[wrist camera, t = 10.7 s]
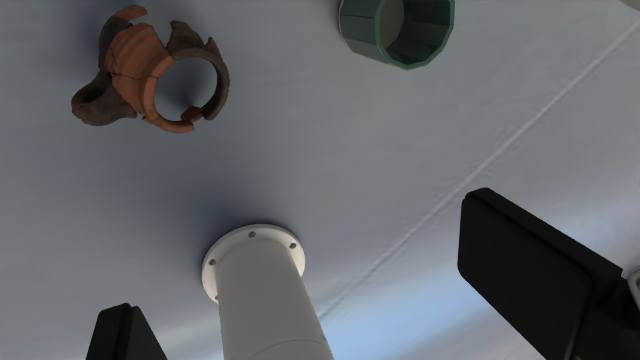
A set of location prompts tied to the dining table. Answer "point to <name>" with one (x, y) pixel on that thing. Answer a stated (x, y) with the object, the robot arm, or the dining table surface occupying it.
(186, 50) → the broken pottery
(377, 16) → the green mug
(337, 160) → the dining table surface
